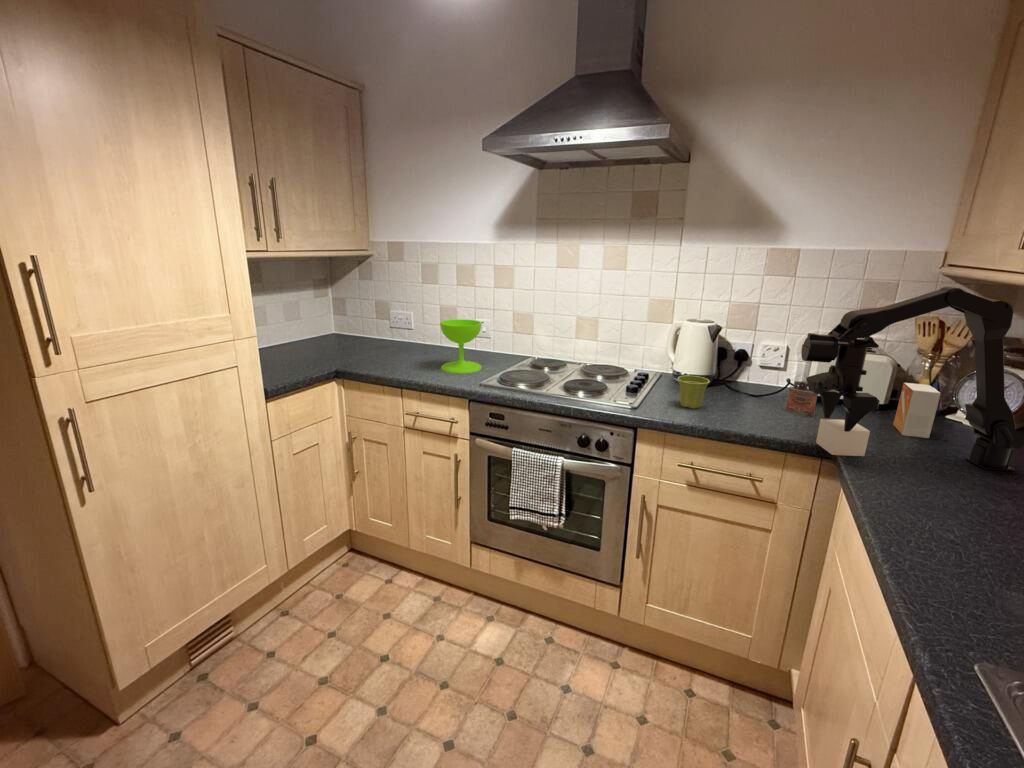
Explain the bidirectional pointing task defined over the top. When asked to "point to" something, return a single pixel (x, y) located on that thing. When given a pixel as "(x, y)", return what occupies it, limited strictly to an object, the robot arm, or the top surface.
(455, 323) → the wineglass
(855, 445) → the cream cube
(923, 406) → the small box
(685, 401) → the plant pot
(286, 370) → the top surface
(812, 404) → the lighter
